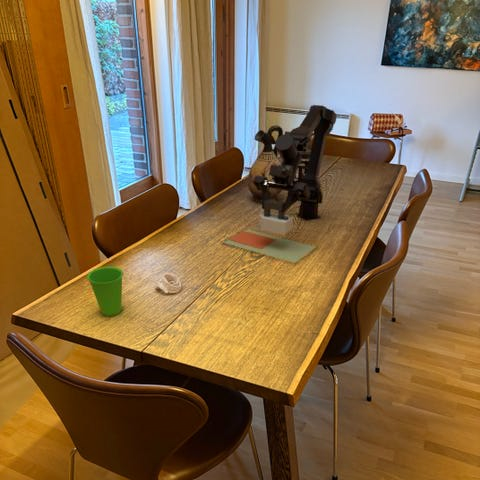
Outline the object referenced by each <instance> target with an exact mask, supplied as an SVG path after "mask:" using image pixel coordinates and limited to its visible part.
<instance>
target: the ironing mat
mask: <svg viewBox="0 0 480 480" xmlns="http://www.w3.org/2000/svg"><path fill="white" fill-rule="evenodd" d="M223 243H224V244H227V245H230V246H234V247H237V248H241V249H245V250H248V251H252V252H255V253H259V254H261V255H265V256H269V257H273V258H275V259H276V258H277V259H280V260H282V261H283V260H284V261H287V262H290V263H294V264H296V263H297V262H298V261H299V260H301V259H302V258H303V257H305V256H307V254H309V253H310V252H312V251H313V250H315V249H316V248H317V246H315V245H310V244H307V243H303V242H299V241H295V240H292V239H288V238H285V237H279V236H275V235H270V234H265V233H261V232H256V231H255V230H253V229H250V228H247V229H245V230H243V231H242V232H239V233H238V234H236V235H234V236H233V237H231V238H229V239H227V240H225V241H224V242H223Z"/></svg>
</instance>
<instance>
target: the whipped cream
mask: <svg viewBox="0 0 480 480" xmlns="http://www.w3.org/2000/svg"><path fill="white" fill-rule="evenodd" d="M172 281H173V283H170V282H172ZM158 289H160V290H161V291H162V292H163V293H165V294H168V293H170V294H177V293H179V292H180V291H181V289H182V283H181V281H180V279H179V278H178V276H177V275H175V274H173V273H171V272H168V273H164V274H163V275H162V276H161V278H160V280H158V282H157V285H156V287H155V291H157V290H158Z"/></svg>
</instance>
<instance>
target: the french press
mask: <svg viewBox="0 0 480 480" xmlns="http://www.w3.org/2000/svg"><path fill="white" fill-rule="evenodd" d="M298 152H299V153H300V154H301V157H302V163H300V164H299V167H298V169H297V173H296V179H294V180H293V182H292V185H293V186H294V184H295V183H296V182H300V179H301V178H302V177H304V176H305V175H306V172H307V167H308V162H309V157H310V153H311V149H307V151H306V152H301V151H298Z"/></svg>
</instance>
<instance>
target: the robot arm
mask: <svg viewBox="0 0 480 480" xmlns="http://www.w3.org/2000/svg"><path fill="white" fill-rule="evenodd" d="M336 122H337V113H336V112H335V111H334V110H333V109H329V108H327V107H326V106H324V105H319V104H313V105H310V107H309V111H308V112H307V114H306V116H305V117H304V118H303V120H302V121H301V123H300V124H299V126H297V127H295V128H292V130H291V131H286V130H285V132H284V133H283V135H281V136H280V137H278V136H277V138H278V139H277V138H276V139H275V142H274V143H275V144H274V146H275V145H276V148H277V150H278V155H279V157H280V158H281V159H282V160H281V162H280V164H281V165H278V166H276V165H271V166H270V171H269V175H271V176H272V179H273V180H274V182H269V181H268V179H267V177H264V176H258V175H257V176H255V177H254V180H253V184H254V185H255V187H256V188H257V190H259V191H262V203H261V209H262V210H264V201H265V200H267V199H269V198H270V196H271V192H270V191H269V190H270V188H274V189H280V190H282V191H284V192H285V191H286V192H287V196H286V198H285V201H284V202H285V203H284V205H283V207H282V211H281V212H282V213H284V212H286V211H287V210H289V208H291V206H292V205H294V204H296V202H300V204H299V206H298V208H299V209H298V213H297V216H298V217H301V218H302V219H303V220H305V221H306V220H307V221H309V220H314V219H319V218H320V215H319V213H318V212H319V204H322V203H323V197H324V193H323V192H322V188H321V186H322V183H321V180H320V178H319V175H320V171H321V166H322V162H323V156H324V151H325V148H326V141H327V137H328V136H329V135H330V133H331V132H332V131H333V130H334V126H335V124H336ZM312 135H313V138H311V136H312ZM310 146H311V148H310ZM309 149H310V150H311V153H310V157H309V159H308V161H309V162H308V167H307V172H306V175H305V176H304V177H302V178H301V179H300V182H296V183H295V184H294V186H293V185H292V182H293V180H294V181H295V180H297V179H296V174H297V173H298V170H299V168H298V167H299V165H301V164H300V163H302V161H303V159H302V157H301V154H300V153H299V152H298V151H301V152H306V151H307V150H309Z"/></svg>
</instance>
